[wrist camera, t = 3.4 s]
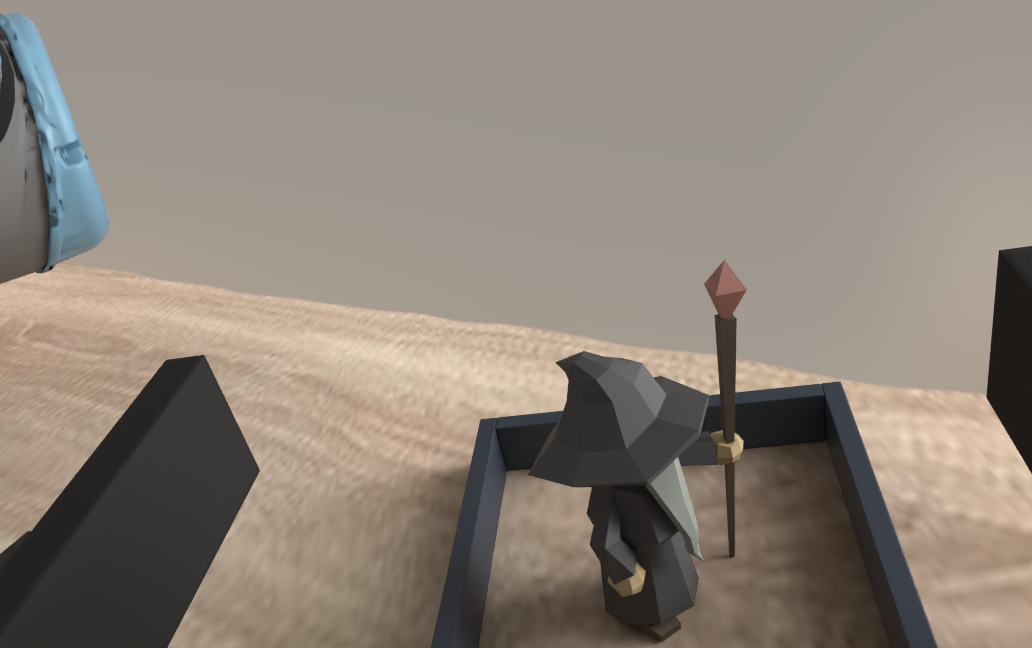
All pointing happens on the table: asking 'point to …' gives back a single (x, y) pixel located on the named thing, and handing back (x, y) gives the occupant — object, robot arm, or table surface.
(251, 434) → the table surface
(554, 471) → the wizard figurine
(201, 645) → the table surface
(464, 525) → the dark grey square frame
